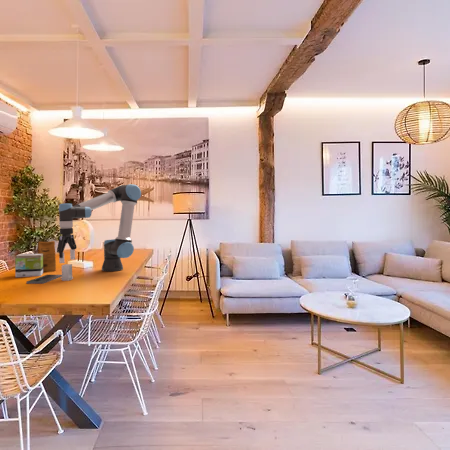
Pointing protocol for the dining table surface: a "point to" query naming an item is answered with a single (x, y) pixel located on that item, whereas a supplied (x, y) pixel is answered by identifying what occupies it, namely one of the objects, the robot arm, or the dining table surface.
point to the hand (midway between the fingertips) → (67, 261)
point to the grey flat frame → (43, 279)
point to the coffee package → (48, 255)
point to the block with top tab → (67, 272)
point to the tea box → (28, 265)
